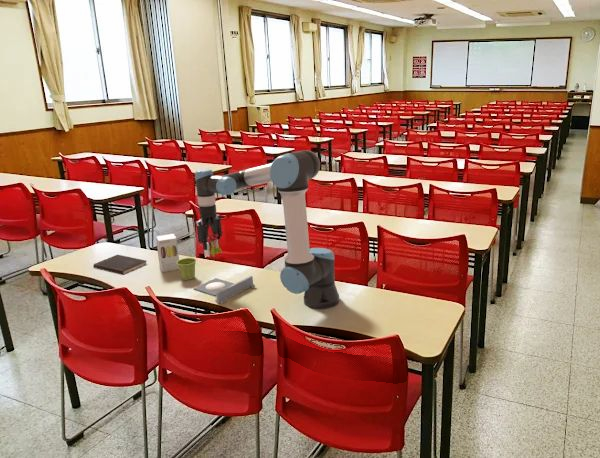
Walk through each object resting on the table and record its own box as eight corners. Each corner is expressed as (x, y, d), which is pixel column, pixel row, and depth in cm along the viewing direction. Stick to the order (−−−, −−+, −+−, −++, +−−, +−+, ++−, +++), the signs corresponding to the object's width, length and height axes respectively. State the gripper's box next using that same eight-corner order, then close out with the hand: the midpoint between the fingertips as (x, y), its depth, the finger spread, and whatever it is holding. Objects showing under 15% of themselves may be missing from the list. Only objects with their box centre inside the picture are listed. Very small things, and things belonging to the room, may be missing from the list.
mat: (236, 285, 228) (236, 284, 228) (214, 296, 217) (214, 294, 217) (215, 279, 236) (215, 277, 236) (193, 289, 226) (193, 288, 225)
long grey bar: (255, 285, 226) (254, 276, 225) (221, 303, 210) (220, 294, 208) (249, 284, 229) (248, 275, 227) (214, 301, 212) (213, 292, 211)
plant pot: (175, 281, 236) (173, 264, 233) (184, 273, 245) (182, 257, 242) (192, 282, 234) (190, 265, 231) (201, 274, 242) (199, 258, 240)
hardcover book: (118, 258, 272) (117, 254, 271) (147, 264, 261) (146, 260, 260) (93, 268, 259) (92, 264, 258) (123, 275, 248) (122, 271, 247)
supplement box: (161, 272, 247) (157, 241, 242) (159, 266, 256) (154, 236, 251) (180, 268, 251) (177, 237, 246) (177, 263, 259) (173, 233, 254)
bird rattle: (203, 260, 221) (216, 256, 215) (194, 237, 221) (206, 232, 215) (213, 256, 226) (226, 251, 220) (204, 234, 225) (216, 228, 220)
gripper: (215, 199, 224) (220, 247, 231) (185, 208, 210) (191, 258, 217) (227, 201, 220) (231, 249, 227) (197, 210, 206) (202, 261, 213)
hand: (212, 254), depth 222 cm, fingers closed on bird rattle, 5 cm apart
